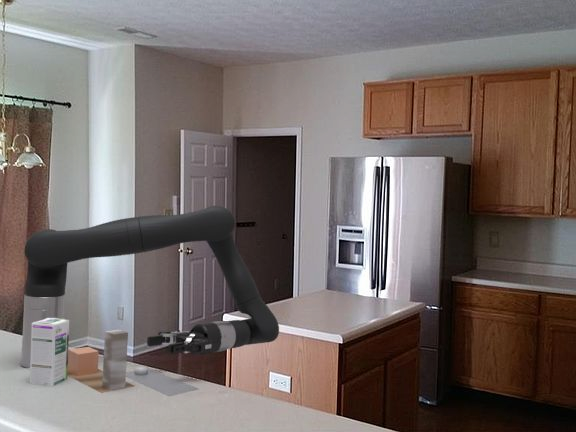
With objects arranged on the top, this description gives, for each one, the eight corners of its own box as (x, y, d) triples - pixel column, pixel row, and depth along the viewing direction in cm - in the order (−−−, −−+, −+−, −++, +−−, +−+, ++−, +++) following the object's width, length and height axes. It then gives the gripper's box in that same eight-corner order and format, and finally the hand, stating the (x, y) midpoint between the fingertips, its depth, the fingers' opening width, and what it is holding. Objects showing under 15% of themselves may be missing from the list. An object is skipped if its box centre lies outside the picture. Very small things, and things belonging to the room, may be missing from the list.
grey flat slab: (118, 377, 138) (119, 367, 138) (148, 372, 144) (148, 361, 144) (168, 400, 124) (169, 388, 124) (199, 393, 130) (199, 382, 130)
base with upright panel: (57, 374, 137) (60, 319, 137) (89, 369, 143) (92, 316, 143) (101, 397, 124) (104, 335, 123) (134, 390, 129) (137, 331, 129)
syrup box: (52, 391, 126) (55, 323, 126) (28, 388, 127) (31, 321, 127) (67, 383, 132) (70, 319, 132) (44, 380, 133) (47, 316, 133)
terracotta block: (67, 371, 137) (68, 349, 137) (87, 367, 141) (88, 346, 141) (77, 376, 134) (78, 354, 134) (97, 372, 138) (98, 351, 138)
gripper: (196, 317, 152) (142, 323, 141) (232, 327, 143) (177, 335, 131) (194, 346, 153) (140, 354, 141) (230, 358, 143) (175, 368, 131)
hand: (158, 345), depth 136 cm, fingers open, 8 cm apart
